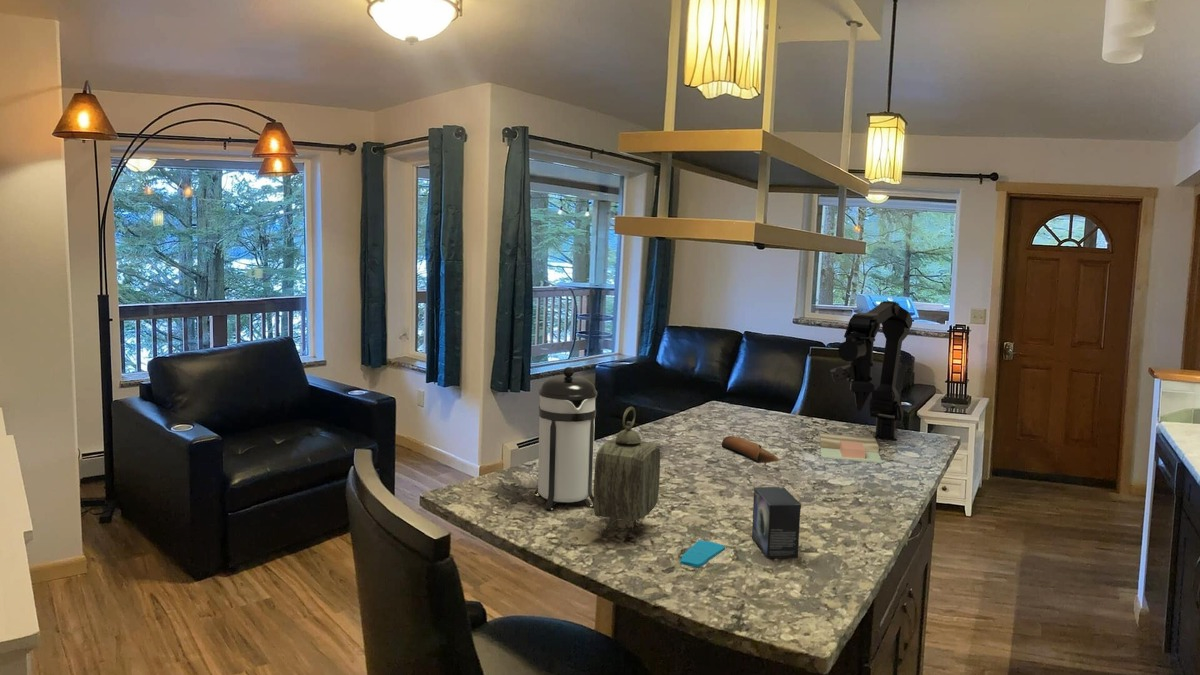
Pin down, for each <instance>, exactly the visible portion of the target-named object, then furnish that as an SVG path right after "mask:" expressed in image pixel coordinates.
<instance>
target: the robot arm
mask: <svg viewBox="0 0 1200 675" xmlns="http://www.w3.org/2000/svg"><path fill="white" fill-rule="evenodd" d="M912 325H913V317H912V316H911V314H910V312H909V310H906V309H905V308H904V307H902V306H901V305H900V304H899V302H897V301H886V300H883V301H880V303H879V304H878V305H876V306H875V307H874V308H872V309H870V310H869V311H867V312H857V313H854V314H853V315H852V317H851V318H850V319H849V321H848V324H847V326H846V329H845V333H844V335H843V338H844V339H845V341H843V342H842V343H841V344H840V345H839V347H838V350H837V351H838V352H837V353H838V356H839V357H840V359H842V360H843V361H845V362H849V364H847V365H843V366H839V367H835V368H832V369H830V373H831V377H832V380H833V382H834V383H837V382H840V381H841V380H842V381H843V380H846V379H847V382H849V383H850V384H848V387H849V389H850V392H852V393H854V401H855V408H856V411H858V412H861V411H862V409H863V407H864V406H865V403H866V402H867V400H868V398H869V396H870V394H871V398H870V400H869V414H870V416H869V417H871V418H875V419H876V420H875V431H874V432H873V433H872V435H873V438H875V439H881V440H891V441H897V440H898V438H897V436H896V424H897V423H896V422H899V421H901V422H902V421H903V417H904V410H903V408H902V405H901V403H900V399H901V398H900V397H901V395H900V394H899V392H898V390H897V379H898V375H899V374H898V372H899V365H900V359H901V351H902V345H903V342H904V340H905V339H907V337H908V335H909V334H910V330H911V328H912ZM881 326H882V327H881ZM880 327H881V330H882V333H883V336H884V338H885V346H884V352H883V358H882V359H883V360H882V364H881V365H882V366H881V371H880V372H881V373H880V379H879V385H878V386H877V388H875V384H874V382H872V380H873V376H872V373H873V372H872V371H873V367H874V363H873V357H874V342H876V337H877V334H878V332H879V330H880Z"/></svg>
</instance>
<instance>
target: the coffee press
mask: <svg viewBox="0 0 1200 675" xmlns="http://www.w3.org/2000/svg"><path fill="white" fill-rule="evenodd" d="M562 373H563V375H564V376H559V377H552V378H548V379H547V380H545V381H543V383H542V384H541V387H540V388H539V389H538V395H539V406H538V416H539V424H538V425H539V427H538V428H539V432H538V462H537V463H538V465H537V466H538V470H537V471H538V472H537V475H538V477H537V488H536V489H535V491H534V493H533V494H534V495H535V494H537V493H538V494H539V495H540V497H542V498H543V499H546V500H547V501H546V502H545V506H544V508H545V510H546V509H550V510H549V511H551V508H554V509H555V507H556V505H557V503H574V502H575V503H576V502H580V501H582V502H584V503H585V504H586V506H590V505H593V506H592V507H591V508H594V494H593V484H594V454H595V453H594V452H595V451H594V450H595V449H594V447H595V427H596V426H595V425H596V424H595V422H596V421H595V420H596V416H597V408H596V398H597V396H598V391H597V390H596V387H595V384H593V383H592V382H591V381H589V380H588V379H585V378H583V377H582V378H581V377H576V376H575V377H573V376H574V373H575V370H574V369H573V368H572V367H571V366H567V367H565V368H564V369H563V371H562ZM588 498H589V499H590V500H591V501H589V500H588ZM591 502H592V503H591Z"/></svg>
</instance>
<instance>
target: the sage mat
mask: <svg viewBox="0 0 1200 675" xmlns="http://www.w3.org/2000/svg"><path fill="white" fill-rule="evenodd" d="M820 457H821V458H822V459H823V458H824V459H834V460H844V461H845V460H846V461H854V462H864V463H865V462H866V463H874V464H875V463H876V464H882V463H883V460H882V458H881V456H880V454H879V452H878V453H873V452H865V459H859V458H848V457H842V455H841V452H840V449H829V448H821V449H820Z"/></svg>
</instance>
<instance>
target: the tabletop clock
mask: <svg viewBox="0 0 1200 675" xmlns="http://www.w3.org/2000/svg"><path fill="white" fill-rule="evenodd" d="M635 408H636V407H635ZM635 408H634V406H629V407H626V409H625V410H624V413H623V416H622V427H623V429H622V430H620V431H619V432H618V433H617V435H616V437H614V438H612V439H609V440H607V441H606V442H605V443H604V444H602V445H601V446H600V447H599V449H598V450H597V452H596V458H595V464H594V472H593V497H594V506H593V511H594V516H596V517H603V518H609V519H608V520H609V521H608V522H607V524H606V526H605V528H602V529H601V530H600V533H599V535H600V537H602V538H607V537H608V536H609V531H608V530H609V529H610V527H611V526H612V525H613V523H614V522H616V521H617V520H620V521H625V522H626V521H627V522H632V523H633V526H632V527H631V531H632V532H633V533H635V534H638V533H639V532H640V531H641V528H640V527H641V526H640V525H639V524H637V521H639V520H641V519H644V518H645V517H646V516H647V515H649V514H650V513H652V510H653V509H654V508H655V507H656V506H657V504H658V500H659V492H660V477H661V476H660V474H661V472H660V471H661V448H659V447H658V446H656V445H655V444H654V443H652V442H651V441H644V440H642V438H641V435H640V434H639V433H638V431H636V430H633V429H632V427H633V426H634V424H635V423H636V422H635V421H636V419H637V418H636V416H637V413H636V409H635ZM630 411H632V415H633V419H632V420H631V421H630V420H628V421H626V418H627V415H628V413H629V412H630Z"/></svg>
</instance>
